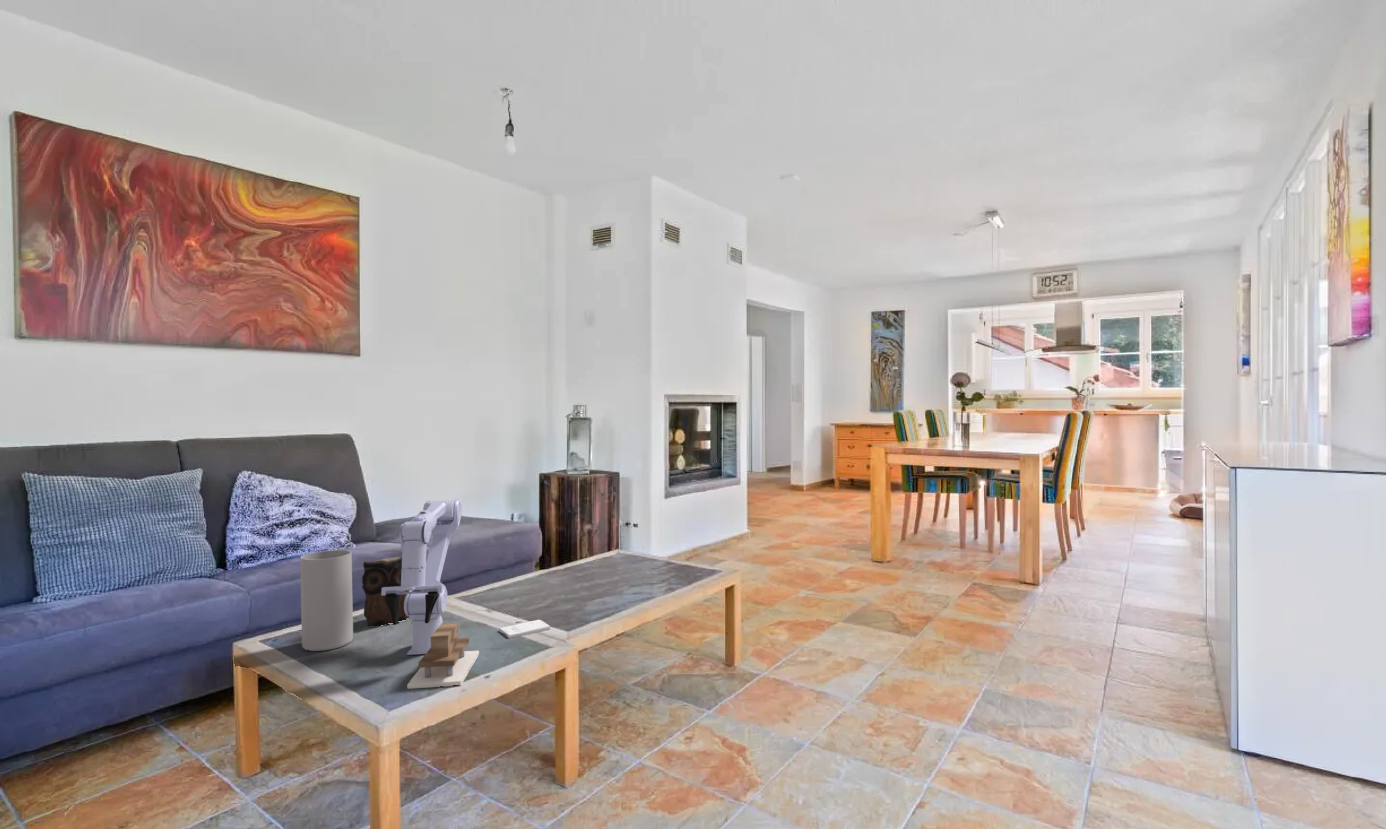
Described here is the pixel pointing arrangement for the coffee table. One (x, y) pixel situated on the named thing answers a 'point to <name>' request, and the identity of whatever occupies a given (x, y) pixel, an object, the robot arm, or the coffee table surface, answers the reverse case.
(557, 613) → the coffee table surface
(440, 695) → the coffee table surface
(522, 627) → the external hard drive
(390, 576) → the owl
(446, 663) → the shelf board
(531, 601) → the coffee table surface
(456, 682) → the peg base
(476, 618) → the coffee table surface
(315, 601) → the cylinder vase
